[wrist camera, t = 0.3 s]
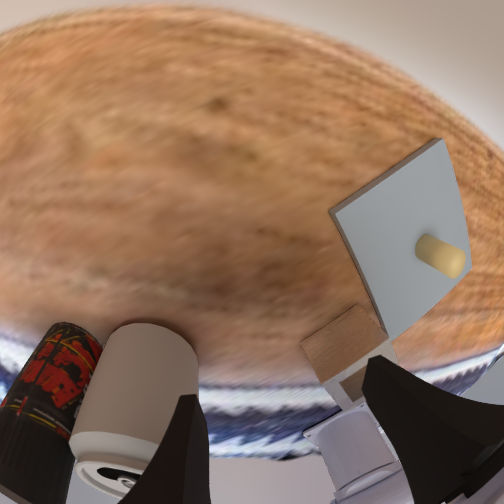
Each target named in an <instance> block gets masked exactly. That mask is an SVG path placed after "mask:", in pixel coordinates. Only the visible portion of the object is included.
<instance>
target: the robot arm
mask: <svg viewBox="0 0 504 504" xmlns="http://www.w3.org/2000/svg"><path fill="white" fill-rule="evenodd" d="M361 390H362V392H363V395H364V397H365V399H366V402H367V404H368V406H369V407H368V406H367V404H366V403H365V402H364V403H362V404H361V405H359V406H358V407H356V408H354V409H353V410H351V411H350V412H348V413H345V412H344V411H343V410H342V411H341V412H339V413H337V414H336V415H334V416H332V417H330V418H328V419H327V420H325V421H323V422H321V423H319V424H317V425H316V426H314V427H312V428H310V429H308V430H306V431H304V432H303V436H304V437H306V438H307V439H309V440H310V441H311V442H313V443H314V444H316V445H317V446H318V447H319V449H320V451H321V454H322V456H323V459H324V461H325V464H326V466H327V469H328V471H329V473H330V476H331V479H332V481H333V484H334V486H335V488H336V491H337V492H335V493H334V496H335V498H336V499H333V500H332V501H331V503H330V504H441V503H443V502H444V501H445V503H446V504H504V405H495V404H488V403H482V402H477V401H473V400H470V399H466V398H463V397H459V396H457V395H454V394H451V393H449V392H446V391H444V390H442V389H439V388H437V387H435V386H433V385H431V384H429V383H427V382H425V381H423V380H422V379H420V378H418V377H416V376H415V375H413V374H411V373H410V372H408V371H406V370H405V369H403V368H401V367H400V366H398V365H397V364H395V363H393V362H392V361H390V360H389V359H387V358H385V357H384V356H382V355H377V356H374V357H371V358H368V363H367V367H366V372H365V376H364V380H363V384H362V388H361ZM369 408H370V409H369ZM371 411H372V412H371ZM372 413H373V414H374V415H373V414H372ZM374 416H375V417H374ZM376 419H377V420H376ZM377 421H378V422H379V423H378V422H377ZM379 424H380V426H381V427H382V429H383V430H384V432H385V433H386V435H387V437H388V438H389V440H390V441H391V443H392V445H393V447H394V449H395V451H396V453H397V455H398V458H399V460H400V462H401V464H400V462H399V460H397V461H396V459H395V458H394V456H393V454H392V452H391V450H390V449H389V447H388V445H387V444H386V442H385V440H384V439H383V437H382V435H381V434H380V432H379V430H378V429H377V427H378V426H379ZM401 465H402V466H401ZM117 504H211V499H210V490H209V438H208V430H207V422H206V419H205V417H204V414H203V411H202V409H201V406H200V403H199V400H198V398H197V395H196V394H187V395H181V396H180V397H179V399H178V402H177V405H176V408H175V411H174V413H173V416H172V418H171V421H170V423H169V425H168V428H167V430H166V432H165V434H164V437H163V439H162V441H161V443H160V445H159V446H158V448H157V450H156V452H155V454H154V456H153V458H152V459H151V461H150V463H149V464H148V466H147V467H146V469H145V470H144V472H143V473H142V475H141V476H140V478H139V479H138V480H137V482H136V483H135V484H134V485H133V487H132V488H131V489H130V490H129V492H128V493H127V494H126V495H125V496H124V497H123V498H122V499H121V500H120V501H119V503H117Z"/></svg>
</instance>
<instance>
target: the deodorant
mask: <svg viewBox="0 0 504 504" xmlns="http://www.w3.org/2000/svg"><path fill="white" fill-rule="evenodd" d="M102 352H103V349H102V347H101V345H100V344H99V343H98V342H97V340H96V339H95V338H94V337H93V336H92V335H91V334H90V333H88V332H87V331H86V330H84V329H82V328H81V327H79V326H76V325H74V324H71V323H66V322H62V323H56V324H54V325H53V326H52V327H51V328H50V329H49V330H48V332H47V333H46V335H45V336H44V337H43V339H42V340H41V342H40V343H39V344H38V346H37V347H36V349H35V350H34V352H33V353H32V355H31V356H30V358H29V359H28V361H27V362H26V364H25V365H24V367H23V368H22V370H21V371H20V373H19V375H18V376H17V378H16V379H15V381H14V383H13V384H12V386H11V388H10V389H9V391H8V393H7V395H6V396H5V398H4V400H3V402H2V403H1V405H0V492H1V493H2V494H4V495H5V496H7V497H8V498H10V499H12V500H13V501H15V502H17V503H18V504H66V498H67V494H68V489H69V484H70V479H71V475H72V470H73V466H74V462H75V456H74V454H73V453H72V451H71V448H70V445H69V440H70V437H71V434H72V431H73V428H74V425H75V422H76V419H77V416H78V413H79V410H80V407H81V405H82V402H83V399H84V396H85V394H86V391H87V388H88V386H89V383H90V381H91V378H92V376H93V373H94V371H95V368H96V366H97V364H98V361H99V359H100V356H101V354H102Z"/></svg>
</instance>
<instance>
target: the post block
mask: <svg viewBox="0 0 504 504" xmlns="http://www.w3.org/2000/svg"><path fill="white" fill-rule="evenodd" d="M329 212H330V214H331V216H332V218H333V220H334V222H335V224H336V226H337V228H338V230H339V232H340V234H341V236H342V238H343V240H344V242H345V244H346V246H347V248H348V250H349V252H350V254H351V256H352V259H353V261H354V263H355V265H356V267H357V269H358V272H359V274H360V276H361V278H362V280H363V283H364V285H365V287H366V290H367V292H368V294H369V296H370V299H371V301H372V304H373V306H374V308H375V311H376V313H377V316H378V318H379V321H380V323H381V326H382V328H383V331H384V332H385V333H386V334H387V335H388V337H389V338H390V340H391V342H392V341H393V340H394V339H395V338H397V337H398V336H399V335H401V334H402V333H403V332H404V331H406V330H407V329H408V328H409V327H410V326H412V325H413V324H414V323H415V322H416V321H418V320H419V319H420V318H421V317H422V316H423V315H424V314H426V313H427V312H428V311H429V310H430V309H431V308H432V307H433V306H434V305H436V304H437V303H438V302H439V301H440V300H441V299H442V298H443V297H444V296H445V295H446V294H447V293H448V292H449V291H450V290H451V289H452V288H453V287H454V286H455V285H456V284H457V283H458V282H459V281H460V280H461V279H462V278H463V277H464V276H465V275H466V274H467V273H468V272H469V271H470V270H471V269H472V262H471V253H470V245H469V238H468V232H467V226H466V220H465V215H464V210H463V205H462V201H461V196H460V192H459V188H458V184H457V180H456V177H455V173H454V170H453V166H452V163H451V160H450V157H449V153H448V150H447V147H446V145H445V142H444V139H443V138H435V139H433V140H432V141H430V142H429V143H427V144H426V145H424V146H423V147H422V148H420V149H419V150H417V151H416V152H414V153H413V154H411V155H410V156H409V157H407V158H406V159H404V160H403V161H401V162H400V163H398V164H397V165H395V166H394V167H393V168H391V169H390V170H388V171H387V172H385V173H384V174H382V175H381V176H379V177H378V178H376V179H375V180H373V181H372V182H371V183H369V184H368V185H366V186H365V187H363V188H362V189H360V190H359V191H357V192H356V193H354V194H353V195H351V196H350V197H348V198H347V199H346V200H344V201H343V202H341V203H340V204H338V205H337V206H335V207H334V208H332V209H331V210H329Z"/></svg>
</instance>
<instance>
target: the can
mask: <svg viewBox="0 0 504 504" xmlns="http://www.w3.org/2000/svg"><path fill="white" fill-rule="evenodd" d="M187 394H196V395H197V398H198V400H199V385H198V361H197V356H196V354H195V352H194V351H193V349H192V347H191V345H190V344H188V343H187V342H186V341H185V340H184V339H183V338H182V337H181V336H180V335H178V334H176V333H175V332H173V331H171V330H169V329H167V328H165V327H161V326H158V325H154V324H150V323H133V324H129V325H126V326H122V327H120V328H119V329H117V330H116V331H115V332H113V333H112V334H111V335H110V337H109V339H108V341H107V343H106V345H105V347H104V350H103V352H102V354H101V356H100V359H99V361H98V364H97V366H96V368H95V371H94V373H93V376H92V378H91V381H90V383H89V386H88V388H87V391H86V394H85V396H84V399H83V402H82V405H81V407H80V410H79V413H78V416H77V419H76V422H75V425H74V428H73V431H72V434H71V437H70V440H69V445H70V448H71V451H72V453H73V454H74V456H75V458H76V460H77V461H78V462H77V463H76V465H75V466H74V468H75V471H76V473H77V475H78V476H79V477H80V478H81V479H82V480H83V481H84V482H86V483H87V484H89V485H90V486H92V487H93V488H95V489H97V490H99V491H101V492H103V493H105V494H108V495H110V496H113V497H116V498H119V499H122V498H123V497H124V496H125V495H126V494H127V493H128V492H129V490H130V489H131V488H132V487H133V485H134V484H135V483H136V482H137V480H138V479H139V478H140V476H141V475H142V473H143V472H144V470H145V469H146V467H147V466H148V464H149V463H150V461H151V459H152V458H153V456H154V454H155V452H156V450H157V448H158V446H159V445H160V443H161V441H162V439H163V437H164V434H165V432H166V430H167V428H168V425H169V423H170V421H171V418H172V416H173V413H174V411H175V408H176V405H177V402H178V399H179V397H180V396H181V395H187Z"/></svg>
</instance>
